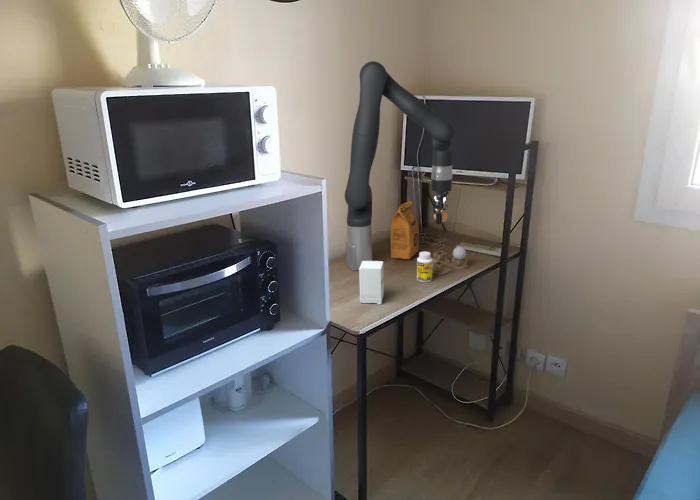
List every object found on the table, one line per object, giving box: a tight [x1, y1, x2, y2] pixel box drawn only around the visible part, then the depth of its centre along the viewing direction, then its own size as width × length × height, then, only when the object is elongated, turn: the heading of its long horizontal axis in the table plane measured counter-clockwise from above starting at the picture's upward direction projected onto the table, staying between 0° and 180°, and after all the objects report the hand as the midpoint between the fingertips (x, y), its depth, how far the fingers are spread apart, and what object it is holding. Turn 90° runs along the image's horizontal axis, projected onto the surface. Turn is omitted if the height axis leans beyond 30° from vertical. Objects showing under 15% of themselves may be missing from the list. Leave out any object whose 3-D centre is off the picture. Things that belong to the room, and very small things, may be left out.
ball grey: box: [452, 246, 467, 260], centre depth 204 cm, size 5×5×5 cm
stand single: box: [431, 250, 450, 264], centre depth 212 cm, size 5×5×4 cm
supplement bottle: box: [416, 251, 433, 283], centre depth 194 cm, size 6×6×10 cm
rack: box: [432, 257, 469, 276], centre depth 204 cm, size 14×5×4 cm, turn 117°
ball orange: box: [433, 209, 448, 223], centre depth 203 cm, size 5×5×5 cm
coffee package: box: [390, 200, 420, 260], centre depth 216 cm, size 10×12×22 cm
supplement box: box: [358, 260, 385, 305], centre depth 179 cm, size 7×7×13 cm
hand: (440, 221), depth 204 cm, fingers closed on ball orange, 5 cm apart
